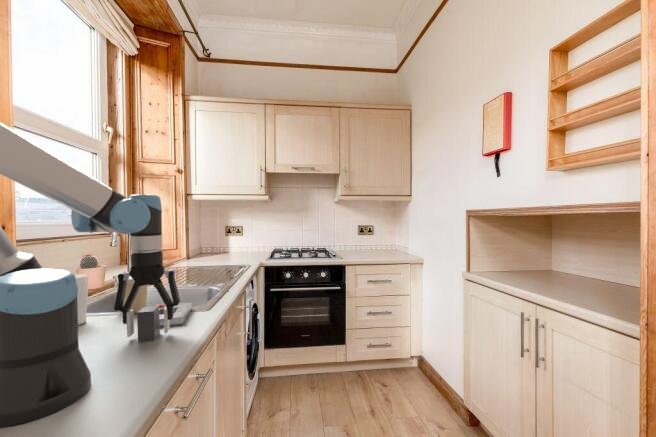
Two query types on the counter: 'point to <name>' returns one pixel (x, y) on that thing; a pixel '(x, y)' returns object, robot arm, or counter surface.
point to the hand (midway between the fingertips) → (149, 332)
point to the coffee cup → (140, 297)
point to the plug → (148, 323)
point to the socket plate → (175, 313)
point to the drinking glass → (82, 297)
